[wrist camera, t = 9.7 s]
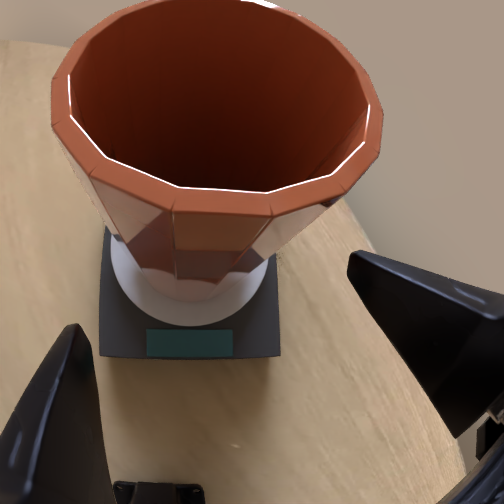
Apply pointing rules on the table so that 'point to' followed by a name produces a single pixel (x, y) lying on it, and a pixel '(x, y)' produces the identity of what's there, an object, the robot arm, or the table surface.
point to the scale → (185, 315)
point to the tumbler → (212, 134)
